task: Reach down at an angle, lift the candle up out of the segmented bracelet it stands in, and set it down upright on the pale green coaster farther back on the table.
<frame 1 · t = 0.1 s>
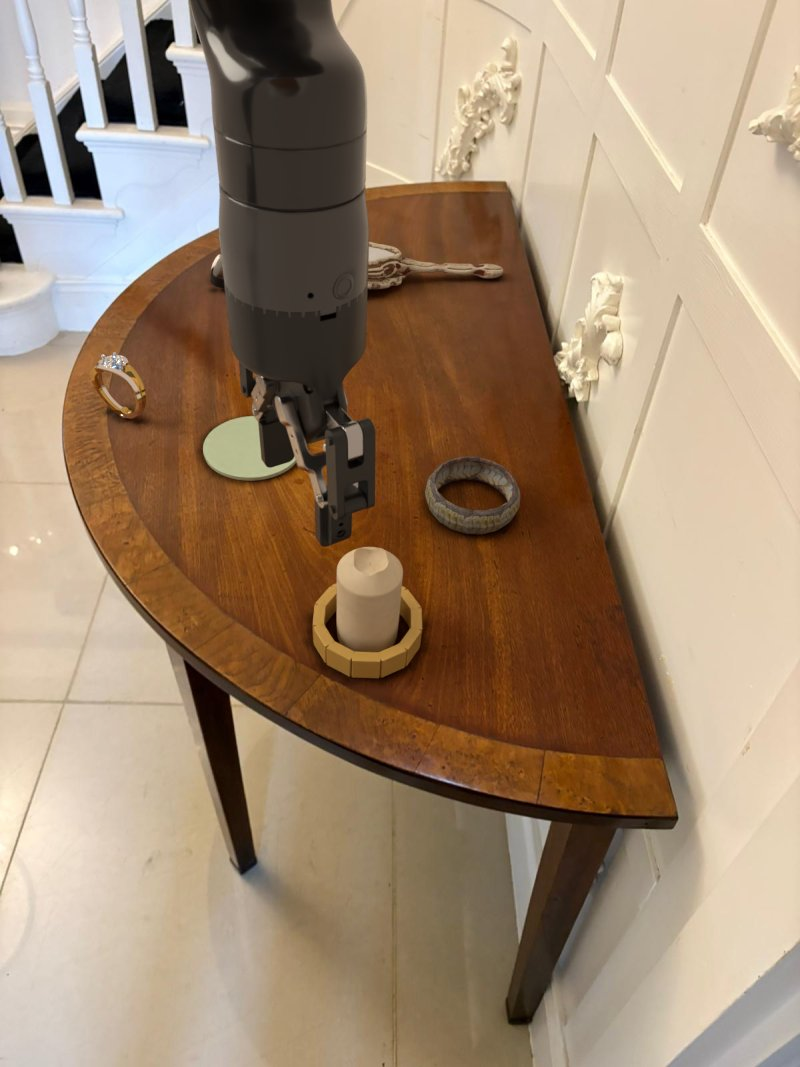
hand: (304, 499, 52), 21 cm above the table, tool pointing down, fingers open, 8 cm apart
candle: (367, 635, 71), resting in segmented bracelet
decorative ring: (470, 507, 84), on the table
hand mirror: (406, 282, 119), on the table
watch: (229, 280, 116), on the table
coaster: (253, 448, 89), on the table
segmented bracelet: (367, 633, 71), on the table
ring: (125, 417, 92), on the table
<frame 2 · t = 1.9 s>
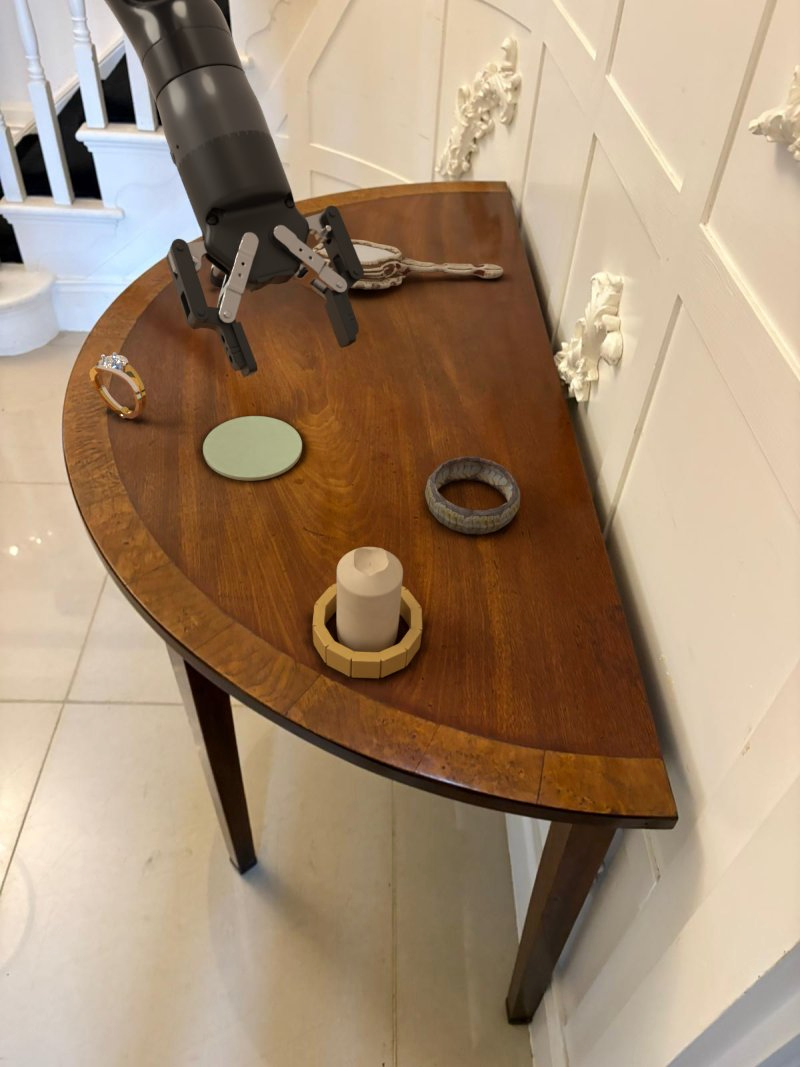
hand: (301, 358, 61), 23 cm above the table, tool tilted 45°, fingers open, 8 cm apart
nothing on the table moved.
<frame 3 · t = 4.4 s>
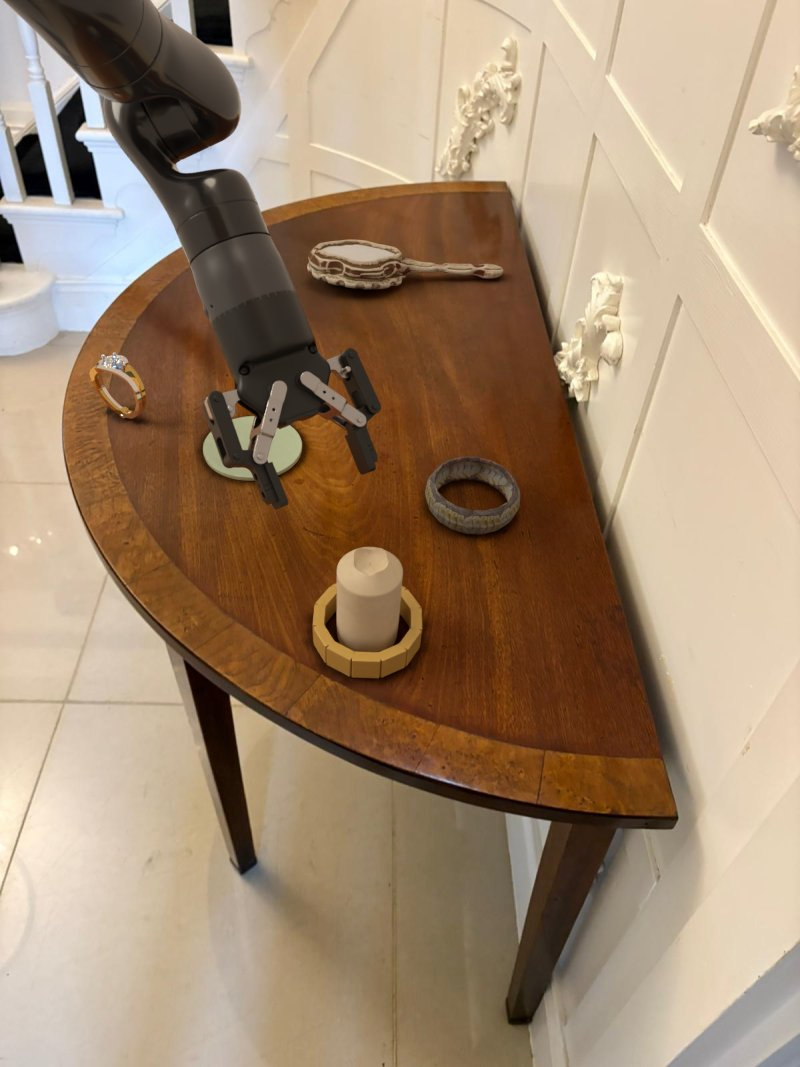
hand: (326, 489, 66), 12 cm above the table, tool tilted 45°, fingers open, 8 cm apart
nothing on the table moved.
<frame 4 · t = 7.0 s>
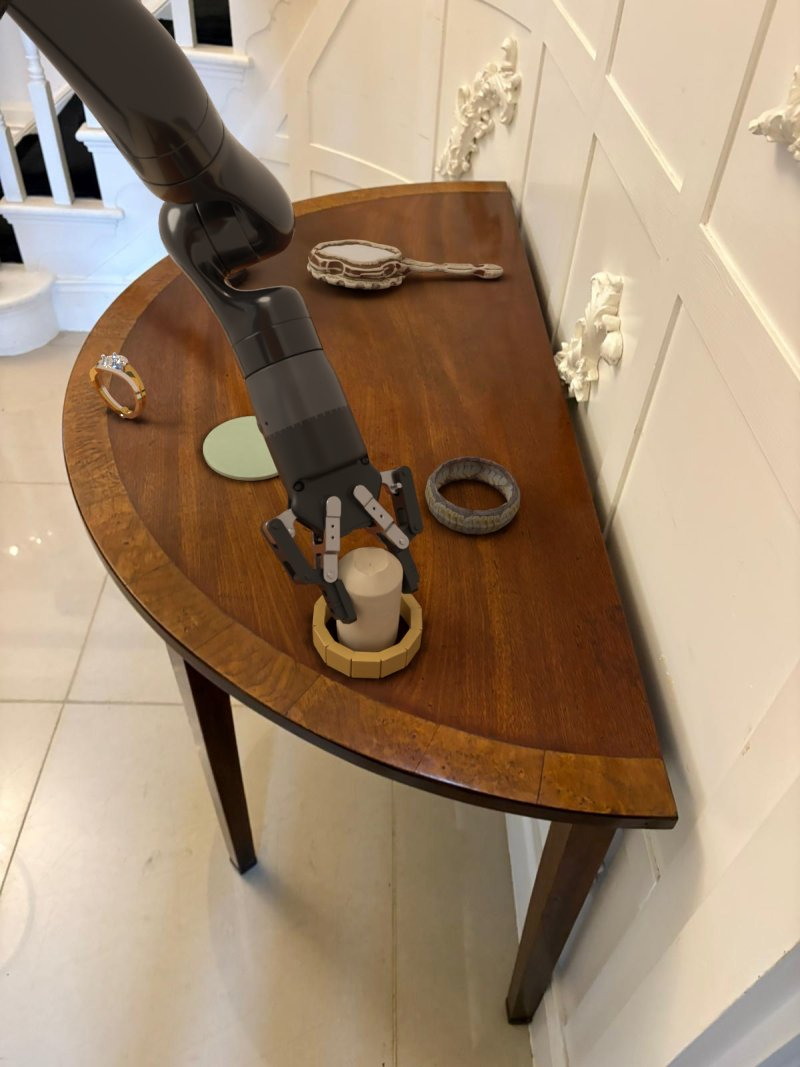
hand: (380, 606, 66), 6 cm above the table, tool tilted 45°, fingers closed on candle, 5 cm apart
candle: (367, 635, 71), resting in segmented bracelet, touching gripper
everything else where it was.
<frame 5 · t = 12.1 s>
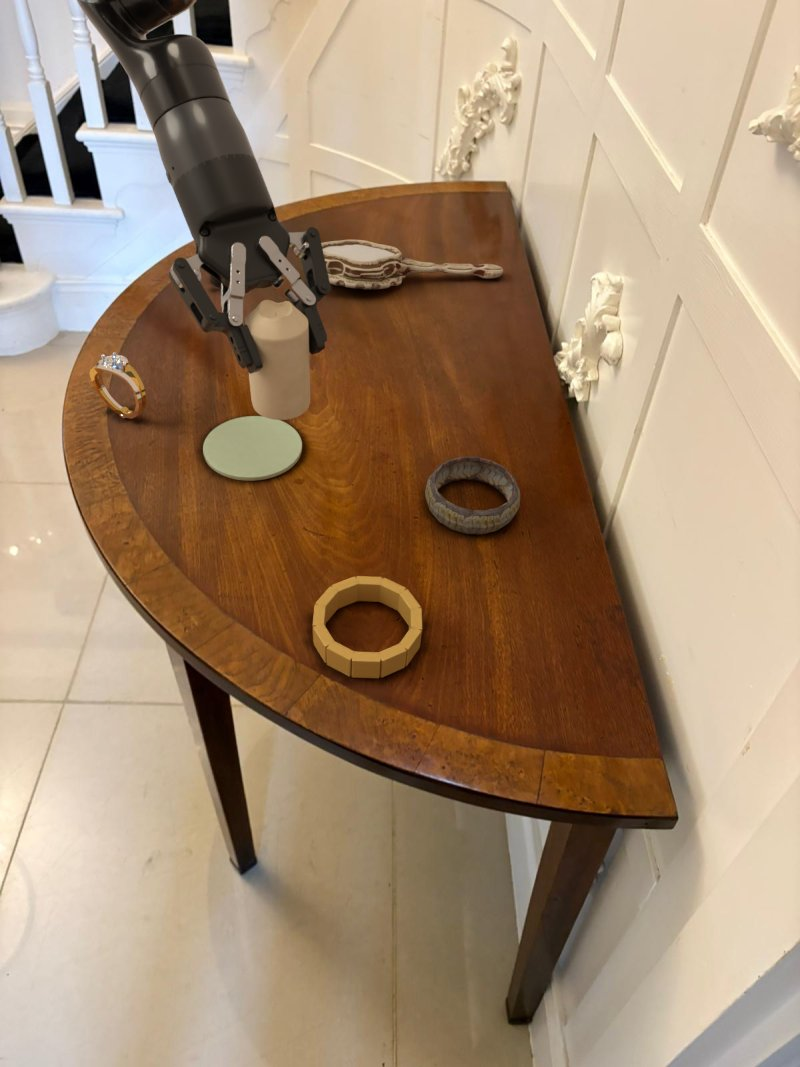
hand: (288, 360, 69), 18 cm above the table, tool tilted 45°, fingers closed on candle, 5 cm apart
candle: (281, 404, 74), point 12 cm above the table, touching gripper
everything else where it was.
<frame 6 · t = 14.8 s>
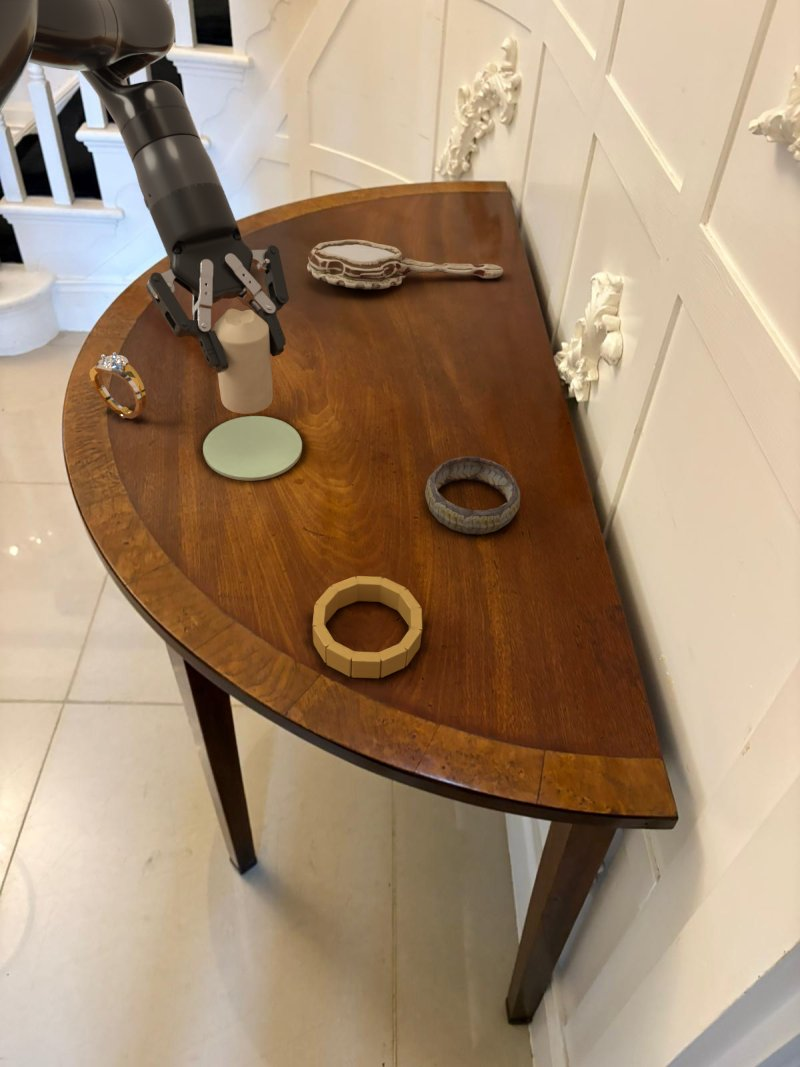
hand: (251, 361, 79), 12 cm above the table, tool tilted 45°, fingers closed on candle, 5 cm apart
candle: (247, 400, 84), point 7 cm above the table, touching gripper
everything else where it was.
when the fingers open (6 cm above the table, at t = 17.0 s): candle stays where it is, resting on coaster.
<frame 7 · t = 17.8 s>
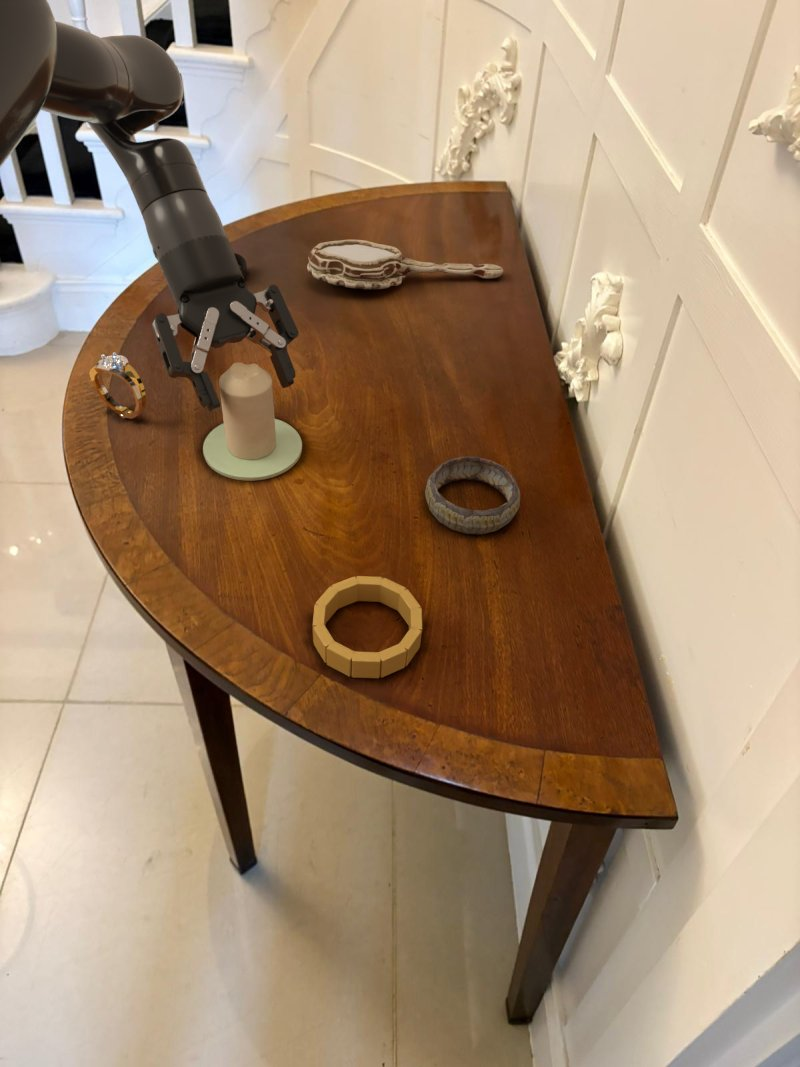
hand: (253, 397, 83), 8 cm above the table, tool tilted 45°, fingers open, 8 cm apart
candle: (251, 446, 89), resting on coaster
everything else where it was.
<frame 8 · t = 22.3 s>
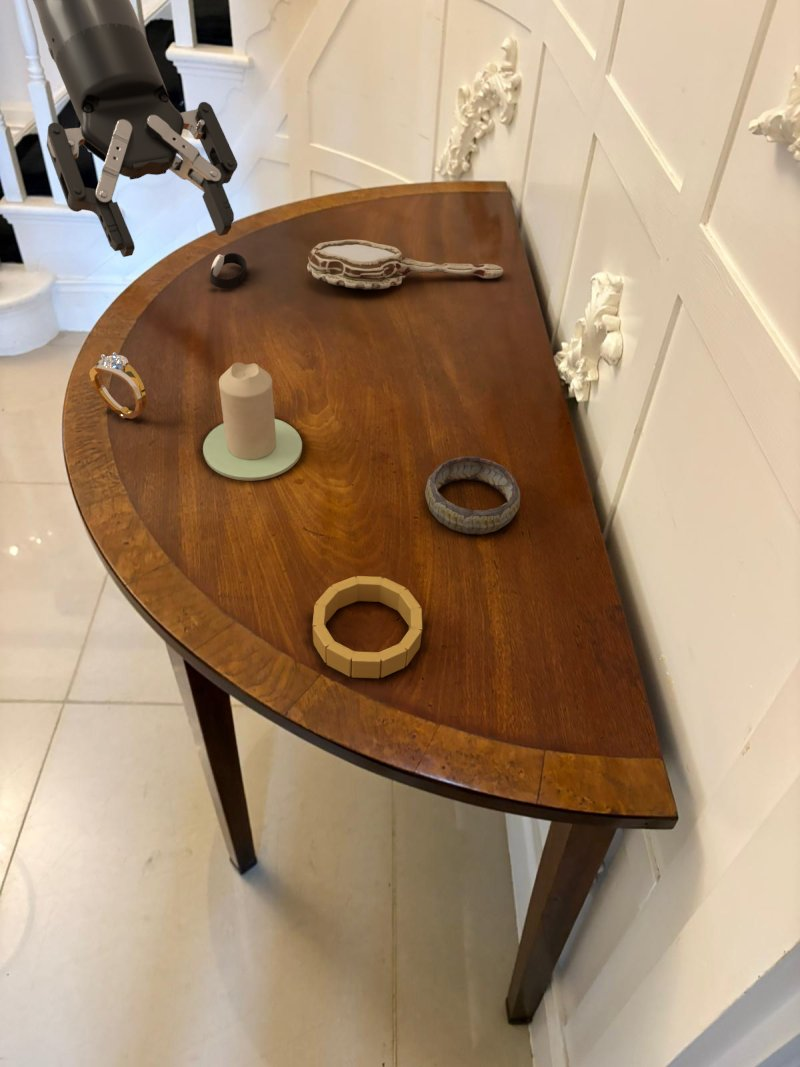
hand: (179, 242, 66), 27 cm above the table, tool tilted 45°, fingers open, 8 cm apart
nothing on the table moved.
at the end: candle 0.1 cm off-centre on the coaster, point 0.3 cm above the coaster's base; candle tilted 0°; the gripper is holding nothing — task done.
